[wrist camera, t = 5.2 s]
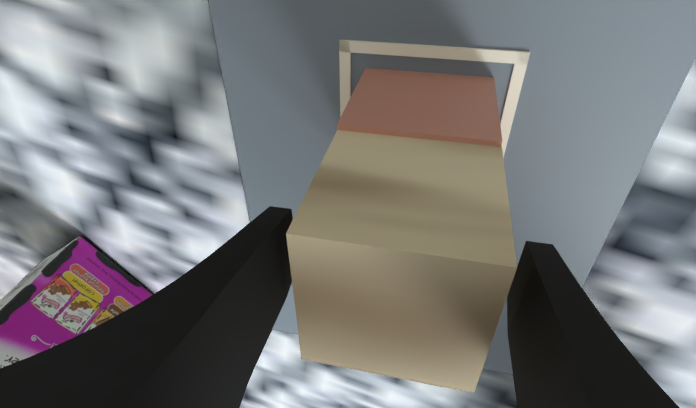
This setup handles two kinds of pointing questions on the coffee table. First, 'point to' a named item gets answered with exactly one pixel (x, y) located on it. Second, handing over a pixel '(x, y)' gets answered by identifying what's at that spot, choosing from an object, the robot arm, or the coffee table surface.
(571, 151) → the grey flat plate
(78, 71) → the coffee table surface
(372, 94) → the brick-red base block
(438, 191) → the maple block
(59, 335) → the candy bar box
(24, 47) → the coffee table surface
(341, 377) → the coffee table surface
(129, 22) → the coffee table surface
